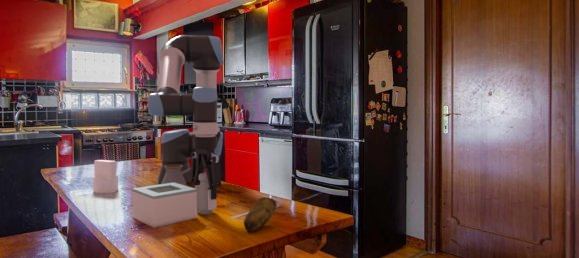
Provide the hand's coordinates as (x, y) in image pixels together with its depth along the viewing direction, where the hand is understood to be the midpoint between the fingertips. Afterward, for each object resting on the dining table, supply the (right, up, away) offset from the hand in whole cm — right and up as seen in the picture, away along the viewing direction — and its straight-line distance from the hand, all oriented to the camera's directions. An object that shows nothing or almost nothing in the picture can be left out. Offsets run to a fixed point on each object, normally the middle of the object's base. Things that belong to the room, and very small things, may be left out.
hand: (205, 206), depth 127 cm
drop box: (-11, -2, -6) cm, 13 cm away
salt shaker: (0, -2, 0) cm, 2 cm away
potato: (+18, -3, -14) cm, 23 cm away
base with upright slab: (-47, 0, +31) cm, 56 cm away
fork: (+16, -3, +2) cm, 16 cm away
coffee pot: (-11, -1, +18) cm, 21 cm away
